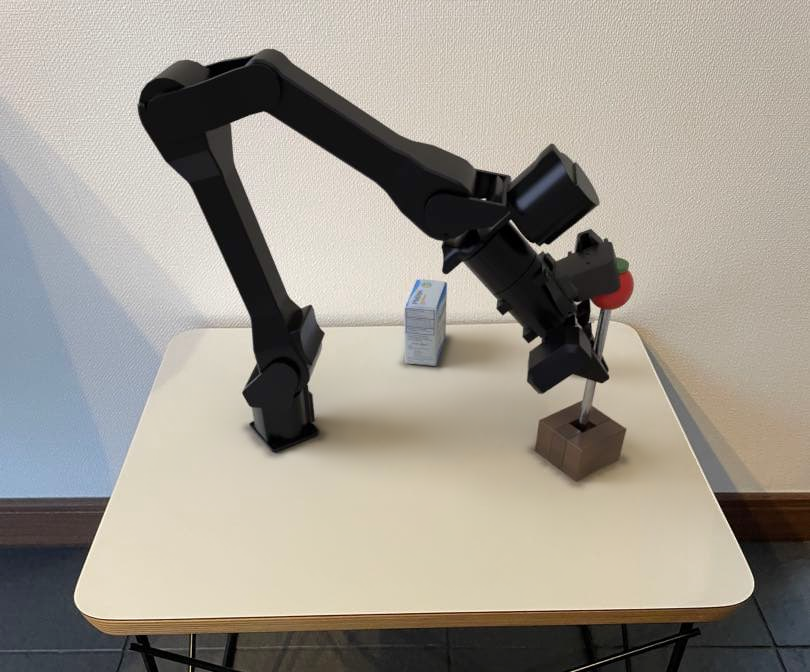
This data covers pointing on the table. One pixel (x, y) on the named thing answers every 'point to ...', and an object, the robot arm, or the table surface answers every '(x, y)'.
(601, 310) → the lever
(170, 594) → the table surface
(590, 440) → the stand
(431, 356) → the medicine box
